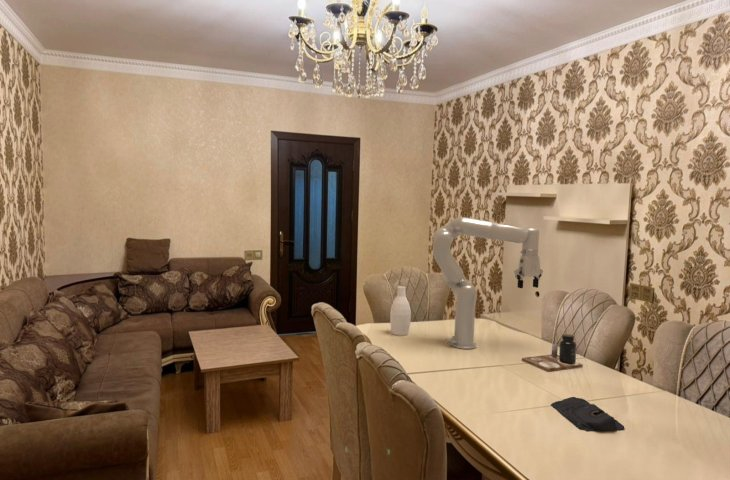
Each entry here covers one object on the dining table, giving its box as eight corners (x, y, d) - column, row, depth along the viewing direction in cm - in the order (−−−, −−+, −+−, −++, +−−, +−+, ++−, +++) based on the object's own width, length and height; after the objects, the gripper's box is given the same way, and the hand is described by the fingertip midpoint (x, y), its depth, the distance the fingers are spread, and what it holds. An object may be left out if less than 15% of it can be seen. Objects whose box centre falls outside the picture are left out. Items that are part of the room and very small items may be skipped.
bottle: (408, 337, 252) (410, 289, 251) (387, 335, 255) (389, 287, 253) (411, 332, 263) (413, 286, 262) (391, 330, 266) (392, 284, 264)
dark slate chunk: (587, 404, 172) (588, 391, 171) (628, 433, 150) (629, 418, 150) (547, 405, 170) (547, 392, 169) (582, 434, 148) (583, 419, 148)
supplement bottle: (572, 359, 217) (573, 333, 217) (578, 364, 211) (579, 337, 210) (556, 359, 218) (557, 333, 217) (561, 364, 211) (563, 337, 210)
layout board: (548, 371, 204) (549, 355, 204) (521, 360, 219) (522, 344, 218) (582, 367, 212) (583, 351, 212) (554, 356, 227) (555, 341, 227)
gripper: (521, 254, 230) (519, 289, 231) (548, 253, 237) (546, 288, 238) (510, 252, 237) (508, 286, 238) (537, 252, 244) (535, 285, 245)
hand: (527, 287), depth 238 cm, fingers open, 9 cm apart
